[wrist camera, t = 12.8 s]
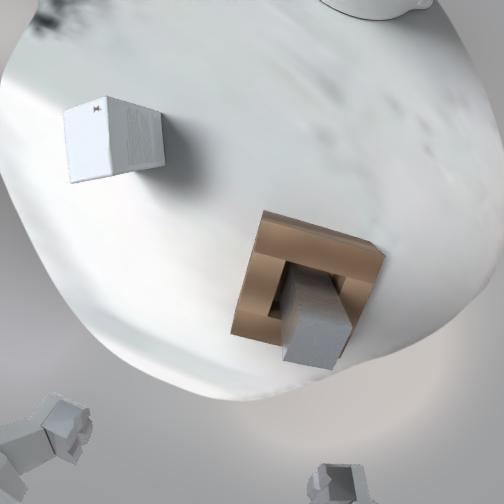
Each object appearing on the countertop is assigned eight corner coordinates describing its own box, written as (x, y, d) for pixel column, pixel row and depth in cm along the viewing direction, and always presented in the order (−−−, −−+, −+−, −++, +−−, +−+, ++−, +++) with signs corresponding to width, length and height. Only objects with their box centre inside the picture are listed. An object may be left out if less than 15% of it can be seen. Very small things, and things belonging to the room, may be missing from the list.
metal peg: (290, 259, 32) (300, 315, 21) (326, 269, 33) (352, 327, 21) (279, 293, 34) (282, 360, 22) (313, 302, 34) (331, 370, 22)
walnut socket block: (263, 210, 32) (262, 219, 27) (369, 241, 32) (385, 255, 28) (235, 310, 36) (230, 333, 31) (332, 334, 36) (339, 358, 31)
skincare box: (125, 119, 30) (61, 108, 18) (161, 111, 29) (107, 93, 18) (130, 172, 32) (68, 185, 20) (166, 167, 31) (114, 175, 20)
